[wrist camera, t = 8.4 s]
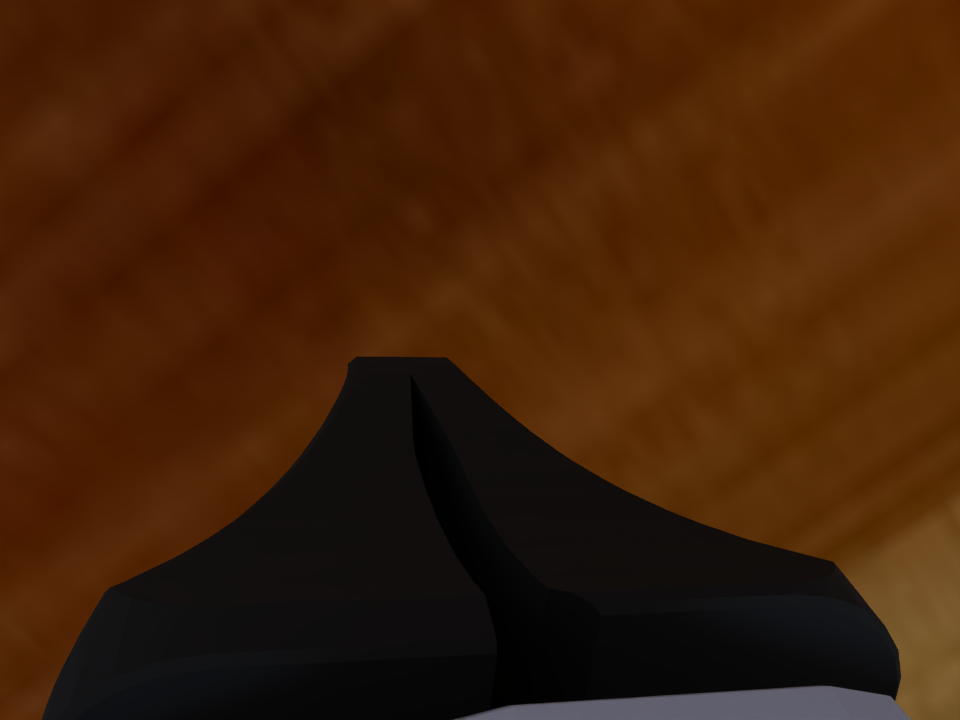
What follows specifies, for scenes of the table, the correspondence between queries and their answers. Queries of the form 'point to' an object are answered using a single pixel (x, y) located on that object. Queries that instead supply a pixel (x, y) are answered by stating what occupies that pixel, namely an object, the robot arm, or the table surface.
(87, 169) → the table surface
